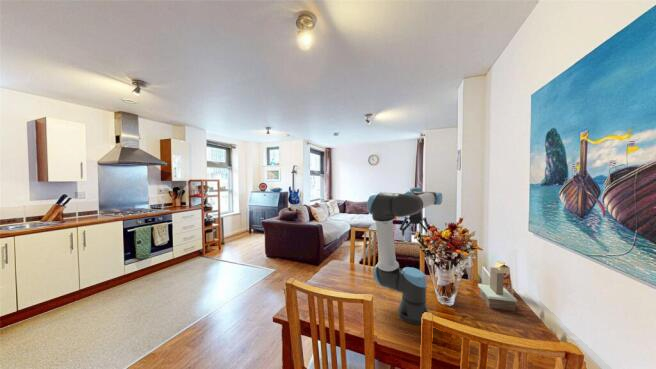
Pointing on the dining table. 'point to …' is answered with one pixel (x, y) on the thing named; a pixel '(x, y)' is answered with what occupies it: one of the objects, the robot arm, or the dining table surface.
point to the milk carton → (505, 276)
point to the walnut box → (497, 302)
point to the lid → (496, 287)
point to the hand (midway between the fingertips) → (414, 241)
